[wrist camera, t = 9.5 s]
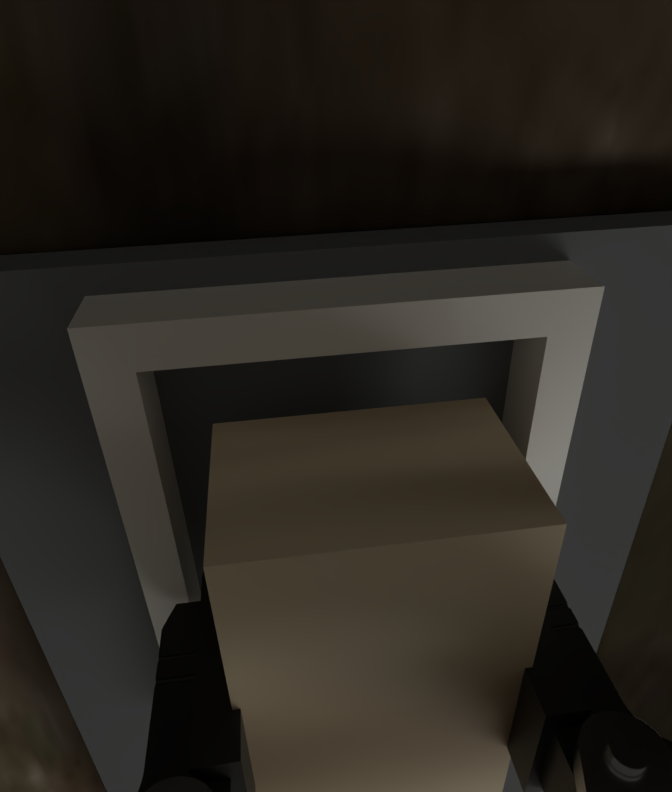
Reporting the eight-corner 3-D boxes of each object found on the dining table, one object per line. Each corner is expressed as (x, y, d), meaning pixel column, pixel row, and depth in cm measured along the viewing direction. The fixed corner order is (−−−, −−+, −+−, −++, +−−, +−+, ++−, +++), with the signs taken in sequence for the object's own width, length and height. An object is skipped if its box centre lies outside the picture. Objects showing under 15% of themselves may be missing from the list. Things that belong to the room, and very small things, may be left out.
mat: (532, 797, 23) (541, 821, 22) (153, 860, 22) (150, 887, 21) (707, 208, 11) (737, 220, 10) (-101, 261, 10) (-127, 280, 9)
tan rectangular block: (212, 423, 10) (202, 567, 7) (485, 397, 10) (566, 523, 8) (259, 709, 14) (263, 863, 11) (449, 682, 14) (494, 824, 12)
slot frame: (493, 668, 17) (510, 710, 16) (194, 710, 16) (191, 758, 15) (569, 260, 10) (604, 286, 9) (84, 295, 10) (67, 328, 9)
